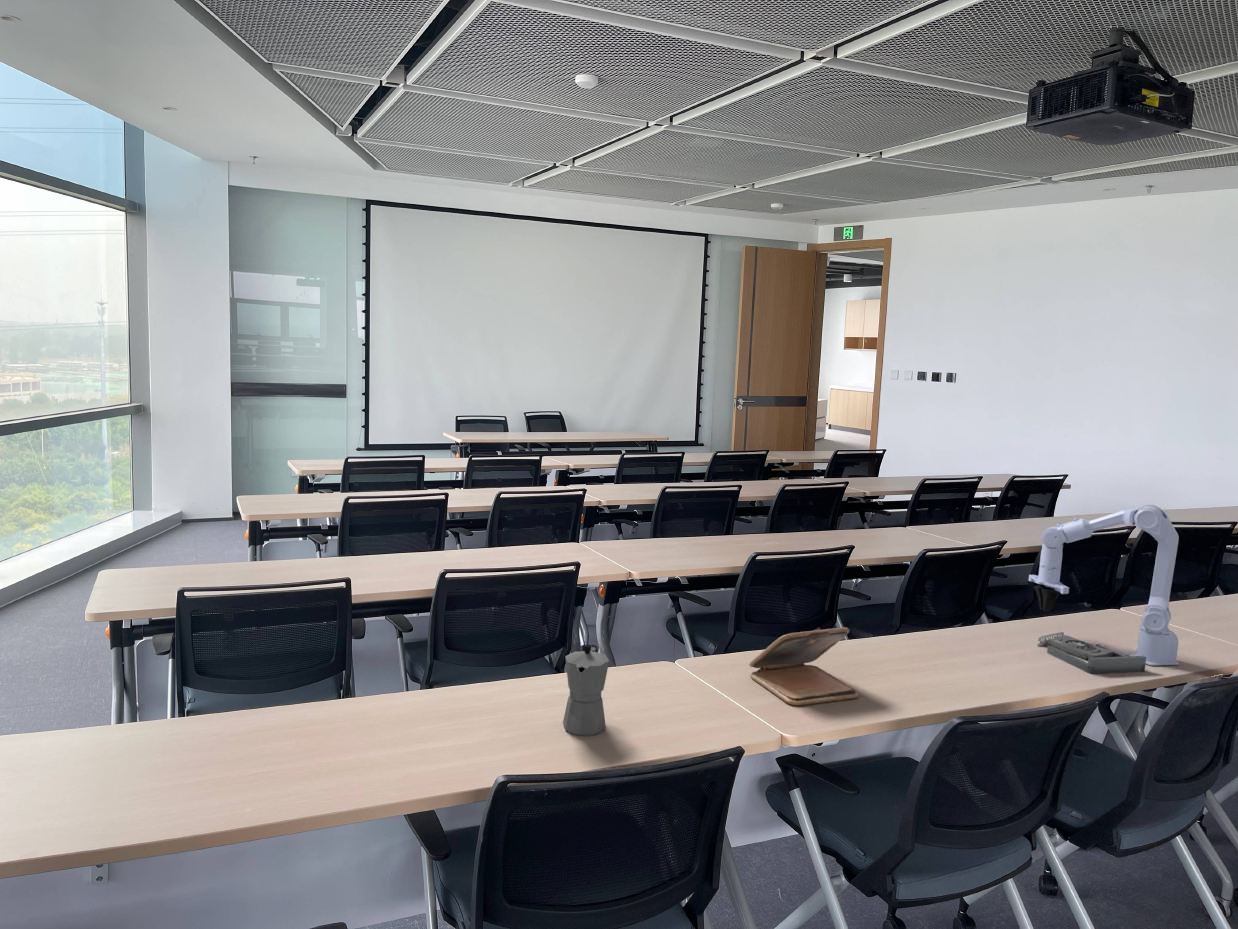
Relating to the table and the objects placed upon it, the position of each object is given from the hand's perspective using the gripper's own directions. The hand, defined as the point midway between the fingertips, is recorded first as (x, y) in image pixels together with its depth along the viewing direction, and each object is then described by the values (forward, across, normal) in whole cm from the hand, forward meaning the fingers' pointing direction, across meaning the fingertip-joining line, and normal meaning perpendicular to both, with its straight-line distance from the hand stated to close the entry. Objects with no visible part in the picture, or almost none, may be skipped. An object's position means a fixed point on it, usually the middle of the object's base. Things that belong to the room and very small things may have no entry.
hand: (1045, 610), depth 250 cm
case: (+9, +28, -92) cm, 97 cm away
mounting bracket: (+8, +22, 0) cm, 23 cm away
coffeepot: (+9, +44, -149) cm, 155 cm away
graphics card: (+9, +13, 0) cm, 16 cm away
